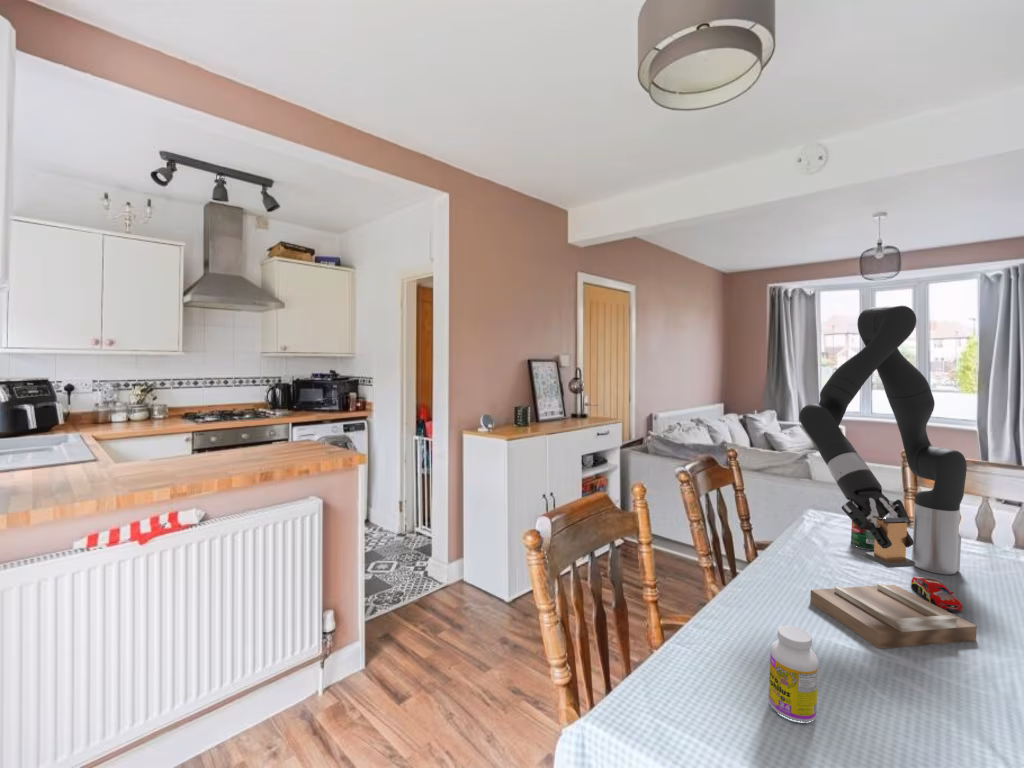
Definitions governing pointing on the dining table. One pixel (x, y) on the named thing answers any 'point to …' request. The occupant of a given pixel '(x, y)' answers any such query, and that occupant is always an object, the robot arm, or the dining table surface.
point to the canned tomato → (862, 537)
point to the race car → (936, 593)
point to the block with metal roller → (897, 550)
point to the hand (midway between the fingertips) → (898, 546)
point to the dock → (892, 616)
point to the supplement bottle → (793, 675)
